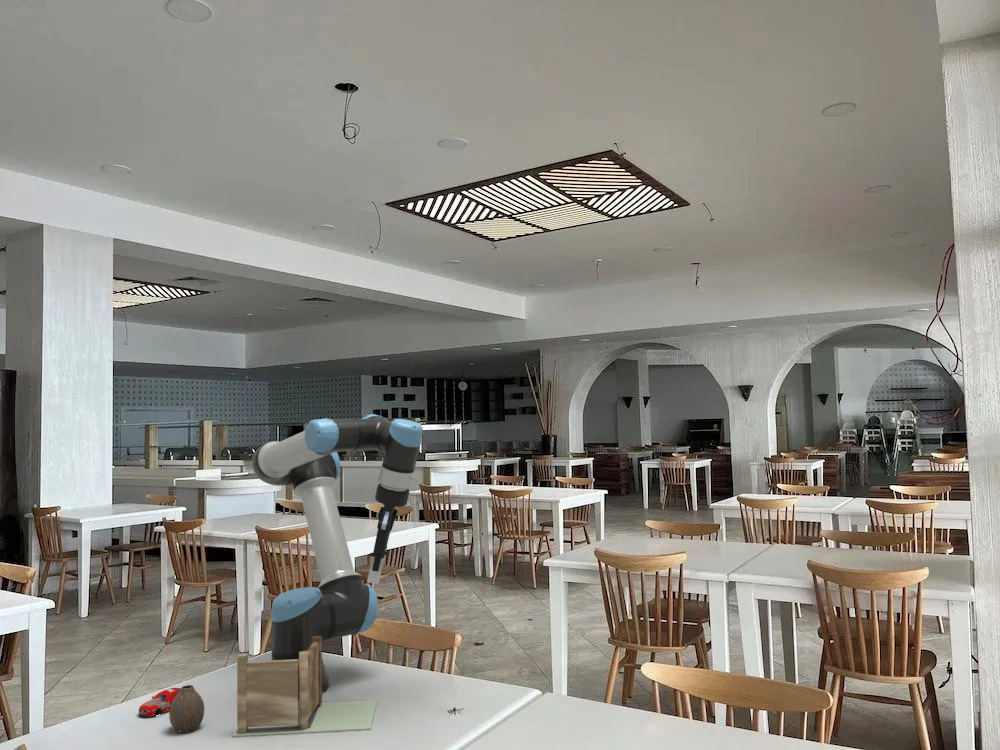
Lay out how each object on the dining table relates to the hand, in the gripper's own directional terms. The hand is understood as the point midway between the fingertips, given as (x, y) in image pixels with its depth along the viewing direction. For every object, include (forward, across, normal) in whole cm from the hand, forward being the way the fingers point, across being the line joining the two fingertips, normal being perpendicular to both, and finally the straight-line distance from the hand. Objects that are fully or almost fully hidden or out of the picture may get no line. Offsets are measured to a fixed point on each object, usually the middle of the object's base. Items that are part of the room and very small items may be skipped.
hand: (372, 581), depth 184 cm
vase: (+32, -20, +30) cm, 49 cm away
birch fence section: (+27, -23, +12) cm, 37 cm away
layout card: (+27, -16, +6) cm, 32 cm away
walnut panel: (+26, -15, +6) cm, 31 cm away
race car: (+37, -7, +39) cm, 54 cm away
